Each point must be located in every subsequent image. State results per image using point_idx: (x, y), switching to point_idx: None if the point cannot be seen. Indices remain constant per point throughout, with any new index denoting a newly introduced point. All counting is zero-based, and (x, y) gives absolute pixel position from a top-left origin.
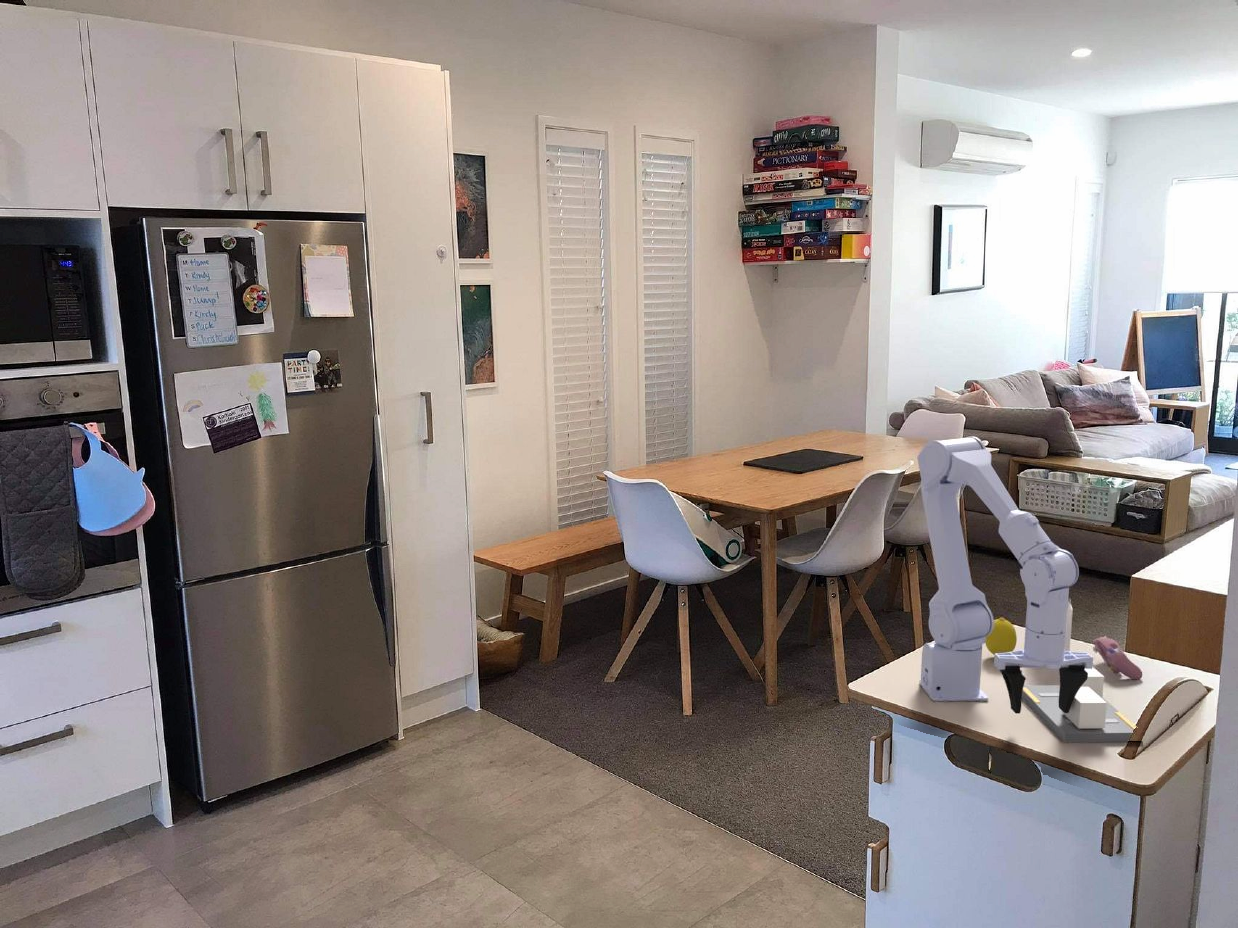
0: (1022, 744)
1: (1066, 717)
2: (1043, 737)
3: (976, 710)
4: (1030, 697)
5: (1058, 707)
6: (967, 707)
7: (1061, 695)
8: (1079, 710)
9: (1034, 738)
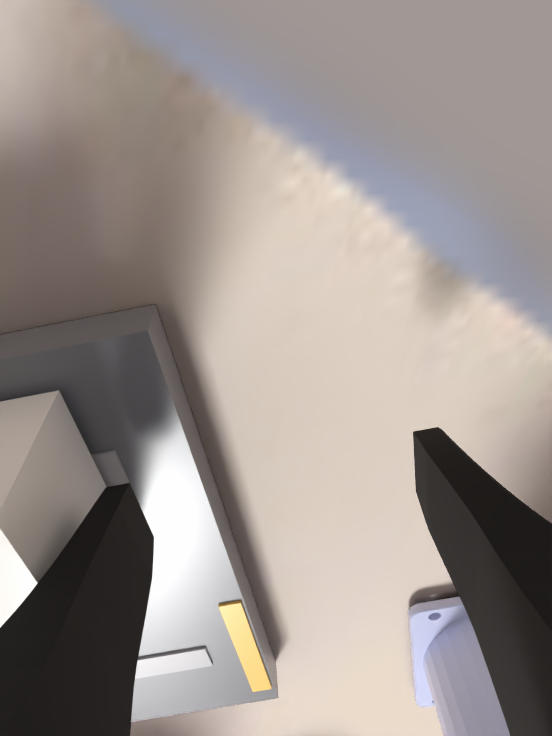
0: (399, 238)
1: None
2: (257, 343)
3: None
4: (252, 633)
5: None
6: None
7: (132, 605)
8: (24, 476)
9: (309, 323)
